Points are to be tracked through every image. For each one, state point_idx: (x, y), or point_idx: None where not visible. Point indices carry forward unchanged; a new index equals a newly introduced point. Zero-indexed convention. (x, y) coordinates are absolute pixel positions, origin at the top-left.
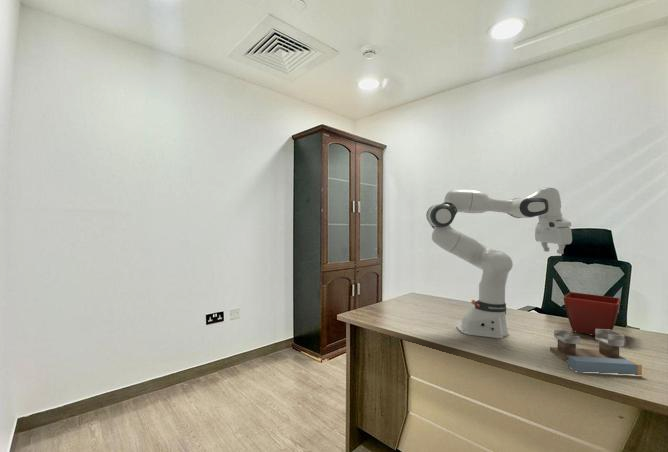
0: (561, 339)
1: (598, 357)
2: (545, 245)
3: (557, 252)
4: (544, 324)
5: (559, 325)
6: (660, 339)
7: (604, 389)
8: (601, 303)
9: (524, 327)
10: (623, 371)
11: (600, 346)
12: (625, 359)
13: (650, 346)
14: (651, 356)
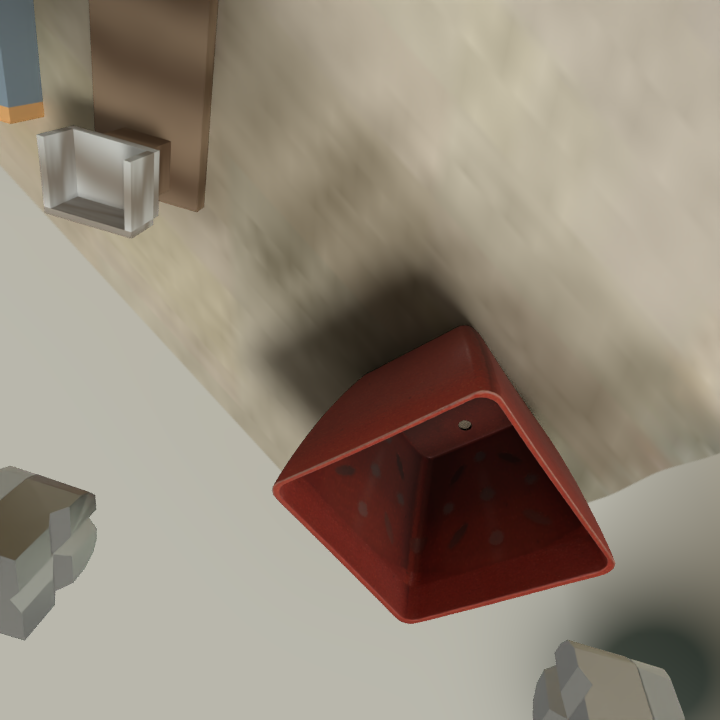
0: None
1: (103, 64)
2: None
3: (56, 500)
4: (615, 287)
5: (572, 351)
6: None
7: None
8: (322, 459)
9: (615, 97)
10: None
11: (148, 144)
12: (5, 97)
13: (284, 441)
14: (195, 346)
